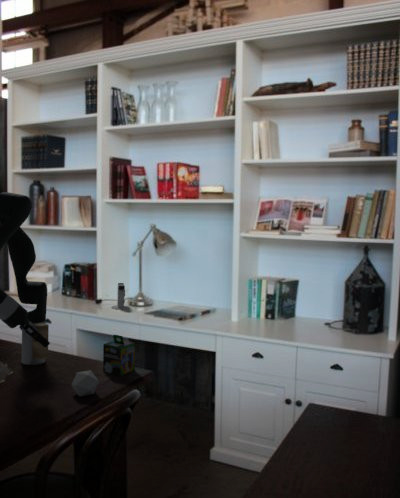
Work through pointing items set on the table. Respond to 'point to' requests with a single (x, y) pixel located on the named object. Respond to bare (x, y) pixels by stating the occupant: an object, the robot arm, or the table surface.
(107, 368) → the chalk box
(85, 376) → the die
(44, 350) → the oak cylinder
